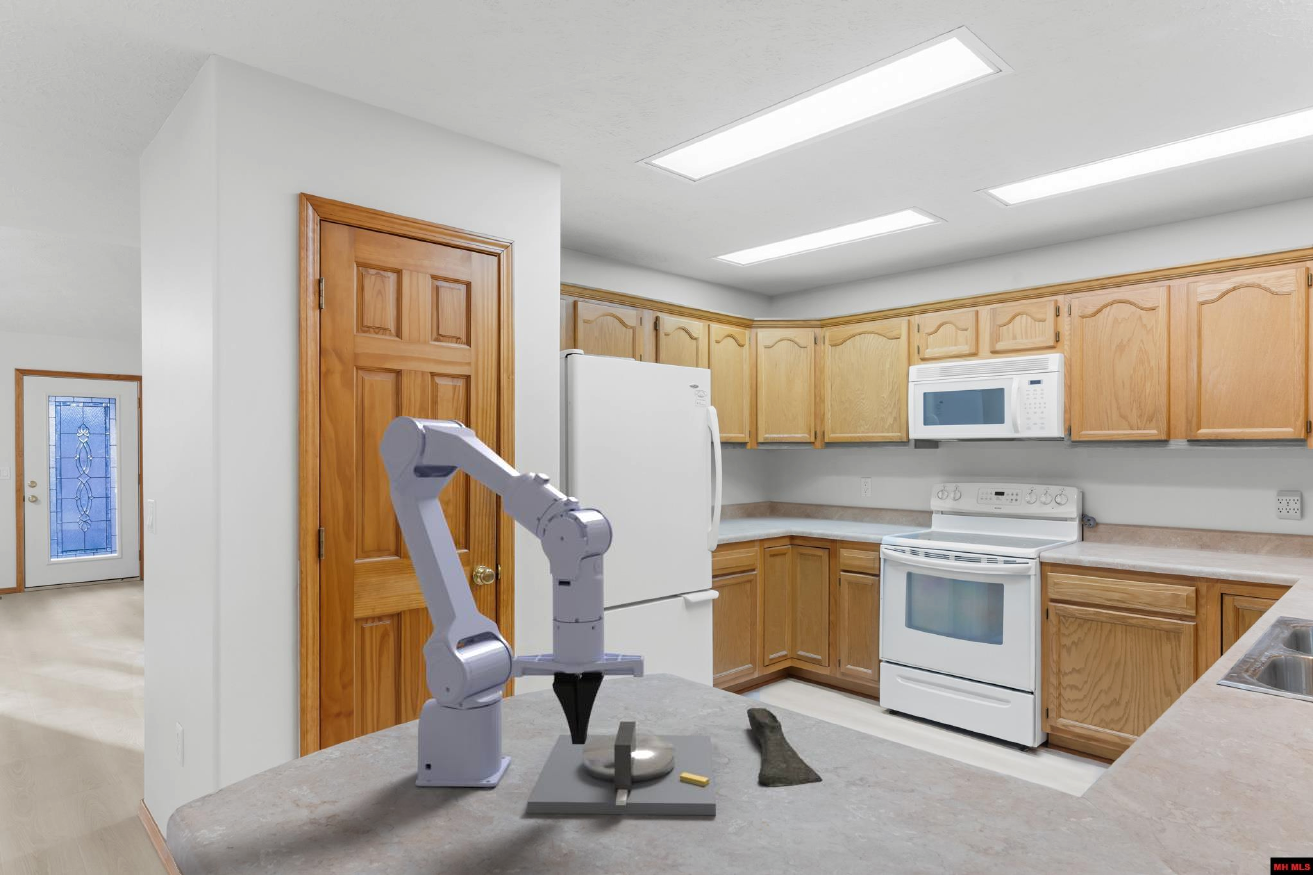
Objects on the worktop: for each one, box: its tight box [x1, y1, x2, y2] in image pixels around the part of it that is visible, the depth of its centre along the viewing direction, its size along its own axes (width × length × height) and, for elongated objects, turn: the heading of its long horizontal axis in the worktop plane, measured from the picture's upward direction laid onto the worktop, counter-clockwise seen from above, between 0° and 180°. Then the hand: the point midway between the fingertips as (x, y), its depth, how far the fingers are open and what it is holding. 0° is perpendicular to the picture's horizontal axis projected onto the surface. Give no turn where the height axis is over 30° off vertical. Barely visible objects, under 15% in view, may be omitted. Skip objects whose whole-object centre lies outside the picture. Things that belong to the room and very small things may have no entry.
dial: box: [582, 720, 675, 792], centre depth 88 cm, size 14×11×5 cm
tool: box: [746, 707, 823, 787], centre depth 96 cm, size 21×8×3 cm, turn 6°
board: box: [527, 734, 717, 816], centre depth 89 cm, size 20×21×2 cm
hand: (579, 741), depth 83 cm, fingers closed
